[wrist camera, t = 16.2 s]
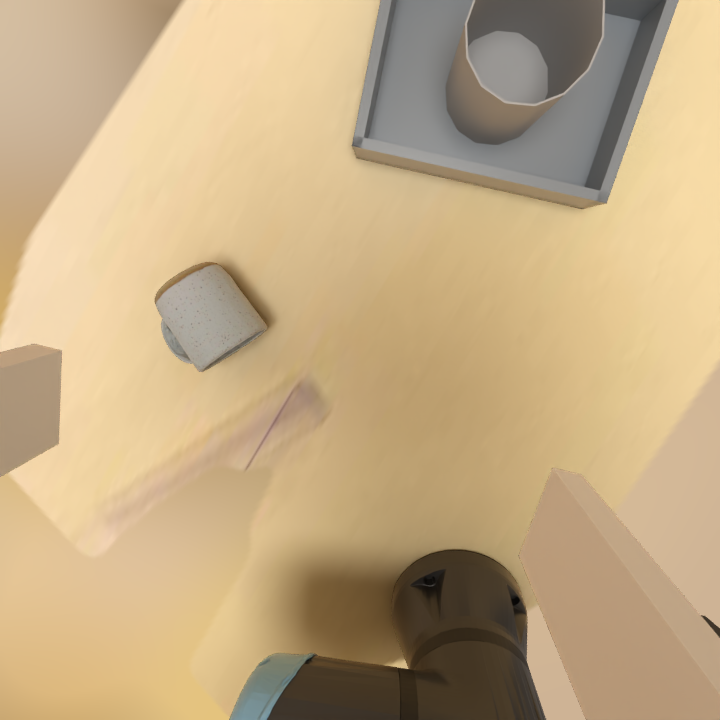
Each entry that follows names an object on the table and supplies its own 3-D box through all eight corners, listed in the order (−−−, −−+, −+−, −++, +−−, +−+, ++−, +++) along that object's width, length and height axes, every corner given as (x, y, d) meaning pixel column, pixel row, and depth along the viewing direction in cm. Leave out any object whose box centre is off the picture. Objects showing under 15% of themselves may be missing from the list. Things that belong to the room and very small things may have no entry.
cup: (568, 72, 35) (635, 1, 25) (506, 164, 37) (546, 132, 27) (484, 11, 34) (519, -85, 24) (426, 108, 36) (437, 56, 26)
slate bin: (582, 208, 38) (606, 203, 34) (356, 157, 38) (352, 146, 34) (647, 18, 34) (684, -17, 30) (395, -37, 34) (395, -78, 30)
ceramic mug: (227, 255, 42) (190, 256, 34) (278, 322, 43) (252, 337, 35) (153, 315, 44) (103, 329, 37) (202, 377, 45) (164, 402, 38)
